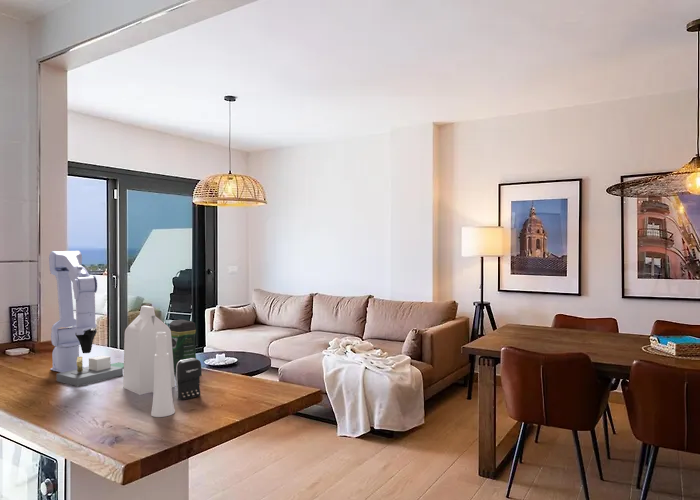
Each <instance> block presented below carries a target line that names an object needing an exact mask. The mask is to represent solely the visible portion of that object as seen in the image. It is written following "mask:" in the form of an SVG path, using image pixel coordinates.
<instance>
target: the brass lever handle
mask: <svg viewBox="0 0 700 500" xmlns="http://www.w3.org/2000/svg"><path fill="white" fill-rule="evenodd" d="M83 367H84V366H83V356H79V357H77V372H83Z"/></svg>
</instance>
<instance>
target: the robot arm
mask: <svg viewBox="0 0 700 500" xmlns="http://www.w3.org/2000/svg"><path fill="white" fill-rule="evenodd" d="M82 263H83V257H82V252H81V251H80V250H63V251H62V250H60V251H59V250H58V251H56V250H52V251H50V253H49V257H48V265H49V271H50V274H51V275H53V276H54V277H55V280H56V286H57V287H56V289H57V302H58V312H59V313H58V315H59V316H58V317H59V320H58V321H56V322H55V323H53V325H52V326H51V332H50V338H51V339H50V340H51V345H52V346H54V348H53V350H52V353H51V354H52V355H51V356H52V357H51V358H52V367H51V368H49V370H51V371H53V372H58V373H62V372H67V371H71V370H76V369H77V357H80V348H81V351H82V353H83V354H90V353H91V352H92V347H93V342H94V339H95V336H96V334H97V332H98V331H97V329H95V328H97V324H96V293H97V291H98V279H97V277H96V276H95V275H90V273H89V272H88V270H87V268H86V267H84V266H83V265H82ZM73 297H74V299H75V315H74V301H73ZM83 368H85V366H83Z"/></svg>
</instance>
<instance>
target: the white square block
mask: <svg viewBox="0 0 700 500" xmlns="http://www.w3.org/2000/svg"><path fill="white" fill-rule="evenodd" d="M111 364H112V363H111V356H107V355H98V356H93V357H89V358H88V367H89V369H91V370H95V371H98V370H103V369H107V368H111Z"/></svg>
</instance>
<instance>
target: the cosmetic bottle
mask: <svg viewBox="0 0 700 500" xmlns="http://www.w3.org/2000/svg"><path fill="white" fill-rule="evenodd" d="M165 334H166V332H158V333H157V336H156V354H155V358H154V392H152V394H153V396H152V397H153V398H152V404H151V406H152V407H151V412H150V415H151V417H154V418H166V417H169V416H172V415H174V414H175V412H176V410H175V405H174V400H173V389H172V387H171V376H170V362H169V354H168V353H167V336H166V335H165Z"/></svg>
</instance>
